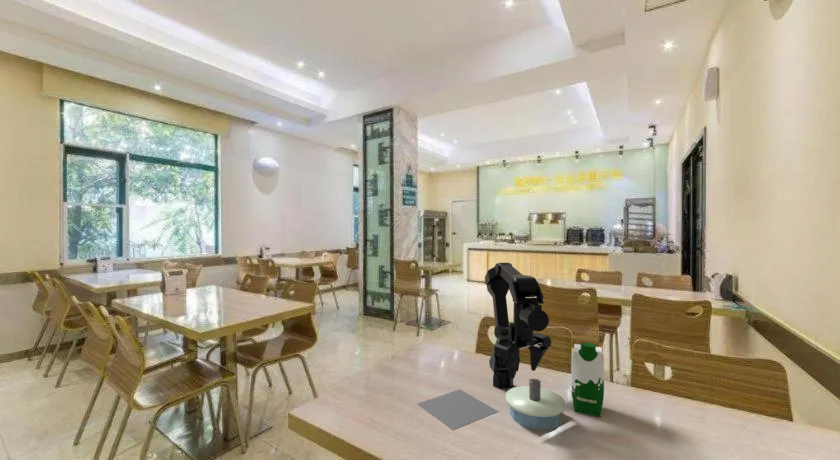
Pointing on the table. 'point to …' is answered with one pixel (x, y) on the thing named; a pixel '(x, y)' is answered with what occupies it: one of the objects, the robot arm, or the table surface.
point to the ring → (535, 420)
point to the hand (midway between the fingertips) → (523, 374)
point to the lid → (535, 400)
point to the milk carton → (587, 379)
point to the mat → (457, 409)
